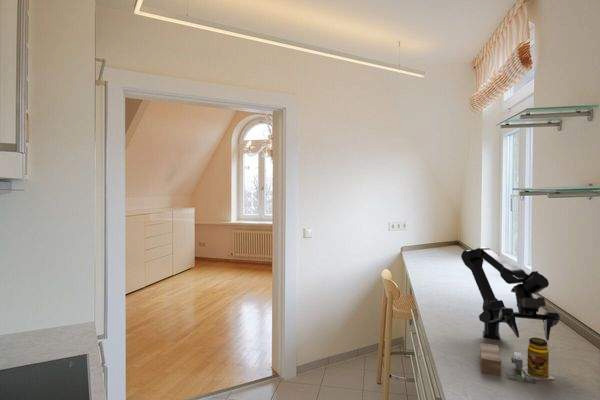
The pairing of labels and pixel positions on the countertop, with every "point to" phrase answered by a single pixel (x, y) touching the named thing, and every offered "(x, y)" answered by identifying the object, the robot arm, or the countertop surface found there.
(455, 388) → the countertop surface
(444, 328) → the countertop surface
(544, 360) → the condiment
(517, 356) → the plunger
